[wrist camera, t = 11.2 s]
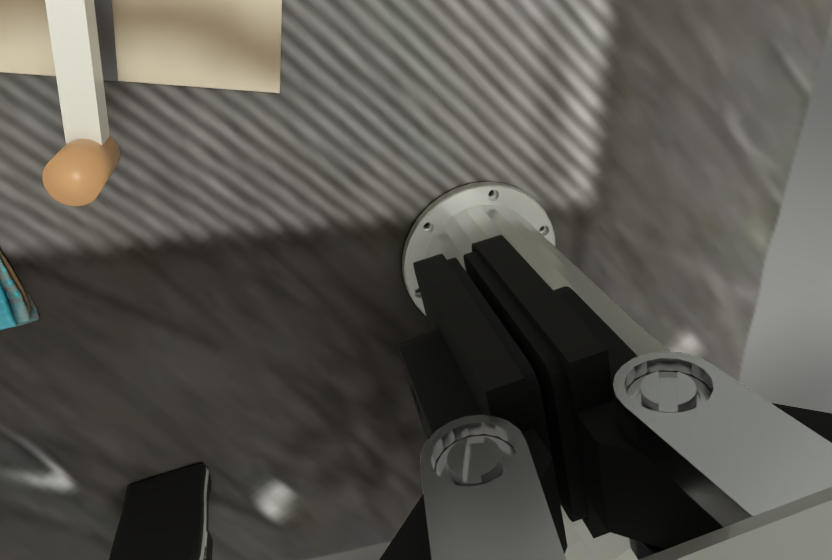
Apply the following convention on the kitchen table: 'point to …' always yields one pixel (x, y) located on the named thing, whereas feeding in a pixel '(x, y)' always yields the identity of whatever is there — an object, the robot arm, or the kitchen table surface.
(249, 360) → the kitchen table surface
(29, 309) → the dish towel
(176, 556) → the battery charger
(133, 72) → the post board
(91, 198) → the crank handle
